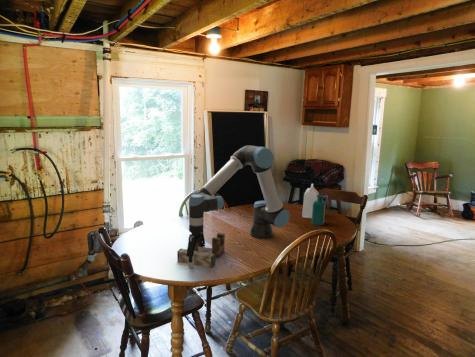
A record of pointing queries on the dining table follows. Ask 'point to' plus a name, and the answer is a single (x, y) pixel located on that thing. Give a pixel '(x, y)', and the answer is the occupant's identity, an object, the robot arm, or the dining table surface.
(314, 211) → the teal green bottle
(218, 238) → the brown u-shaped block
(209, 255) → the rail
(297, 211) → the dining table surface
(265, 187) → the robot arm
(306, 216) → the milk
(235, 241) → the dining table surface
